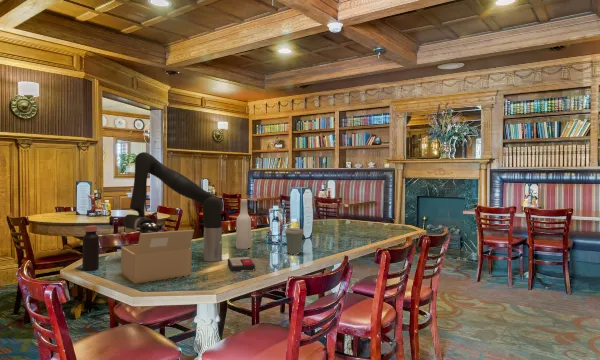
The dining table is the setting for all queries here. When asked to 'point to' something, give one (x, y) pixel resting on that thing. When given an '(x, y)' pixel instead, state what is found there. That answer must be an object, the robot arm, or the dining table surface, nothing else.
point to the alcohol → (243, 227)
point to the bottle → (90, 249)
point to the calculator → (240, 264)
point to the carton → (155, 264)
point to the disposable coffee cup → (293, 240)
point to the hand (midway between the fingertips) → (156, 229)
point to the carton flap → (164, 241)
